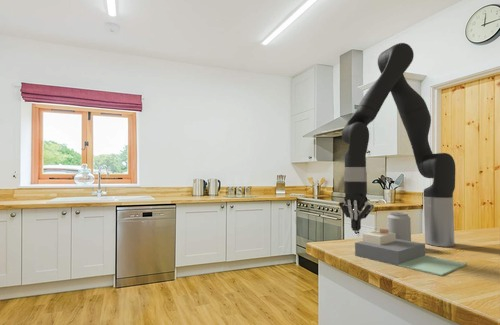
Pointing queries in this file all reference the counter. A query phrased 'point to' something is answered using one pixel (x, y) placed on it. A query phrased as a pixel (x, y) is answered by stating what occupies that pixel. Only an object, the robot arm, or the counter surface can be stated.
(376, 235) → the cream rectangular slab
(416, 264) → the mat
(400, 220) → the can
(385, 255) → the block
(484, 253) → the counter surface
